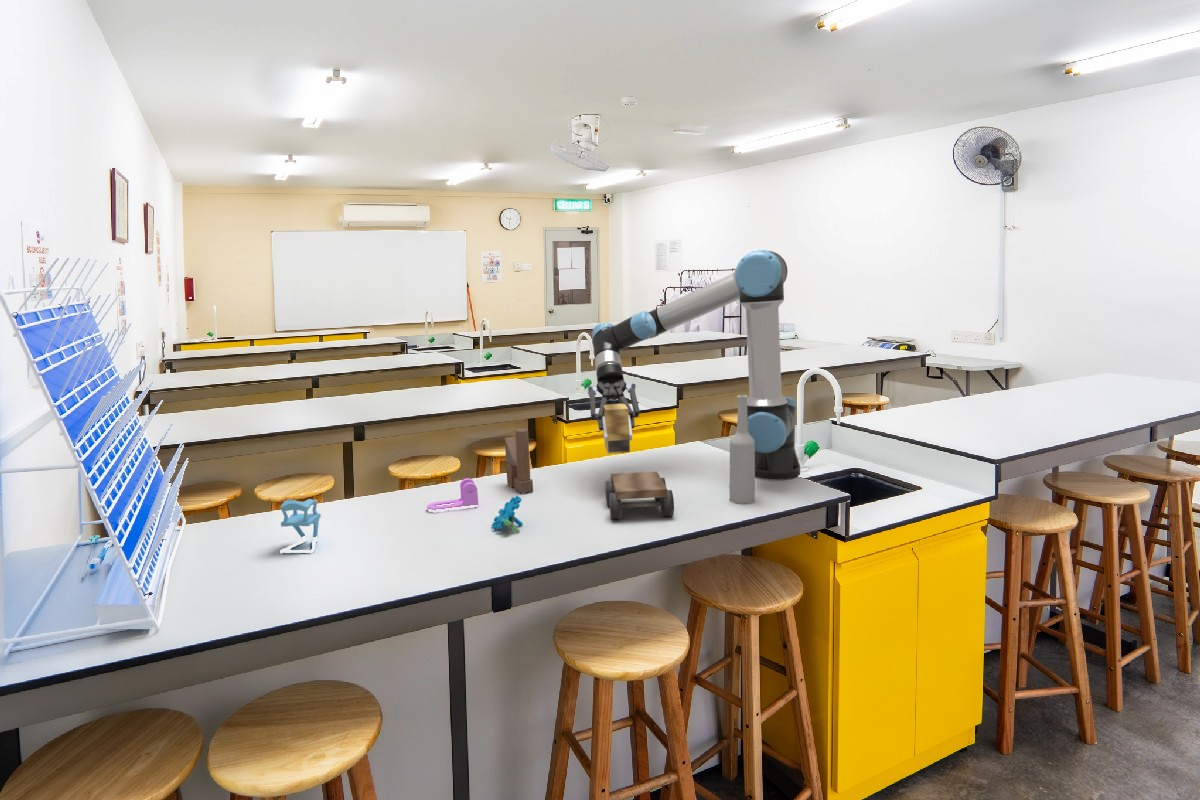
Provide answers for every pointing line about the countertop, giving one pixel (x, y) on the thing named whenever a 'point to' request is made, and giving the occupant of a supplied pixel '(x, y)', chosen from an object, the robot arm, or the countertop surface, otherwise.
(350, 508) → the countertop surface
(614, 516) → the trolley
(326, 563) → the countertop surface
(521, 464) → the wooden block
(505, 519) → the gear
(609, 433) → the block
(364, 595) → the countertop surface
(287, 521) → the chair
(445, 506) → the bracket
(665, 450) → the countertop surface
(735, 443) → the bottle
